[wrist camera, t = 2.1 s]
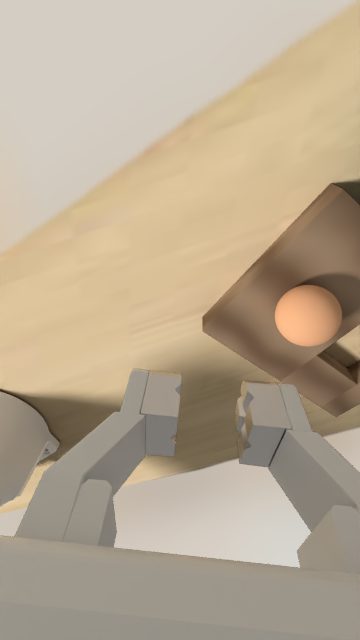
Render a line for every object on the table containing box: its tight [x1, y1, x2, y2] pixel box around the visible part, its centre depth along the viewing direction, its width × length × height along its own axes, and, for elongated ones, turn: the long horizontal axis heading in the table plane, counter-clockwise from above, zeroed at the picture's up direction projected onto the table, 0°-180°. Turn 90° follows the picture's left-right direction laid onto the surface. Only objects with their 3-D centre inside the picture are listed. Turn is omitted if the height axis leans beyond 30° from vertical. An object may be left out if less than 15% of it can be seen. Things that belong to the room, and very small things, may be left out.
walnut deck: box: [203, 184, 360, 417], centre depth 28 cm, size 16×20×2 cm
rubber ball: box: [275, 285, 342, 347], centre depth 24 cm, size 5×5×5 cm
